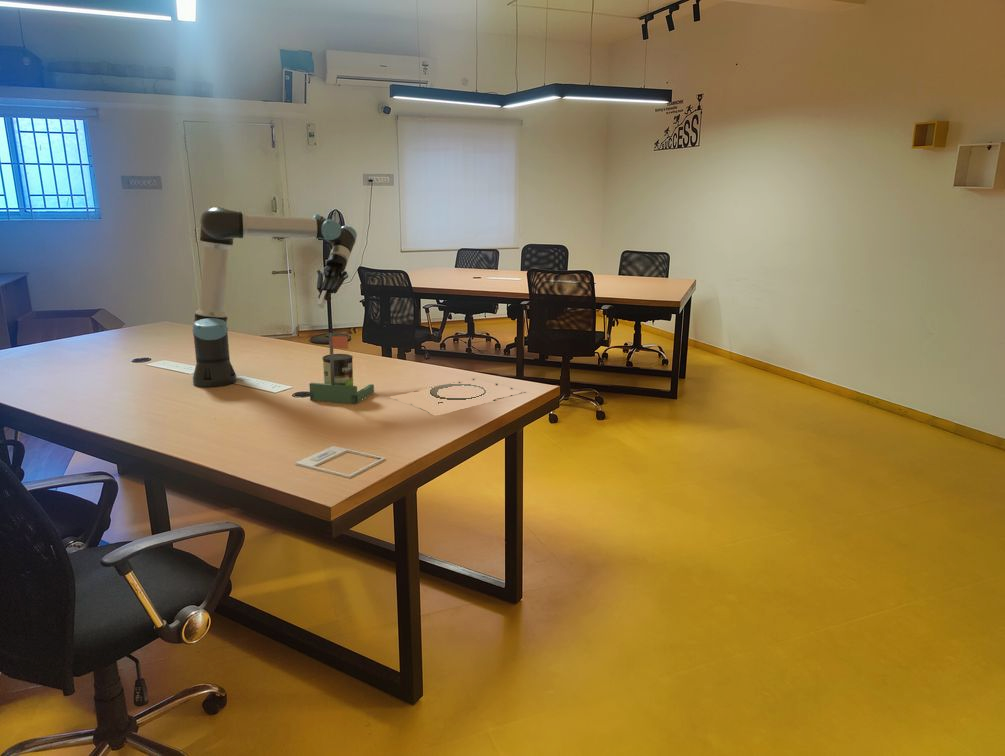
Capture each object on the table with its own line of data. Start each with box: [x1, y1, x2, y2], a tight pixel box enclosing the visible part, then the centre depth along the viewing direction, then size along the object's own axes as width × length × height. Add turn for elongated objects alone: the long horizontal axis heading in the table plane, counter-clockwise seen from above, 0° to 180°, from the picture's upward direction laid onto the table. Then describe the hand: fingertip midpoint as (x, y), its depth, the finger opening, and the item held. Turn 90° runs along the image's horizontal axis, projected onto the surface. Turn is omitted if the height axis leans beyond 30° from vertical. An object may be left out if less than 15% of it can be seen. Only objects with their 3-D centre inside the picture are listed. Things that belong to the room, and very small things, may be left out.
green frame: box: [308, 332, 375, 405], centre depth 232 cm, size 16×17×24 cm
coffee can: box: [322, 353, 354, 386], centre depth 235 cm, size 10×10×14 cm
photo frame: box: [294, 445, 386, 479], centre depth 175 cm, size 15×1×18 cm
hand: (320, 305), depth 255 cm, fingers closed
